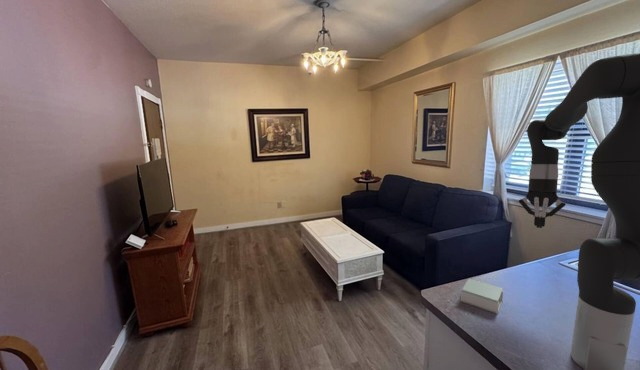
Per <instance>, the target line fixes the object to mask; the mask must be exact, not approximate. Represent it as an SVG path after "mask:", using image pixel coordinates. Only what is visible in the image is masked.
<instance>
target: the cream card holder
mask: <svg viewBox="0 0 640 370" xmlns="http://www.w3.org/2000/svg"><path fill="white" fill-rule="evenodd" d="M503 299H504V290H503V291H502V293H501V296H500V299H499V301H498V303H496V302H493V301H490V300H486V299H483V298H480V297H477V296H474V295H471V294H468V293H465V292H462V290H461V293H460V302H461V303H465V304H467V305H470V306H473V307H476V308H478V309H481V310H484V311H488V312H490V313H493V314H496V315H498V314H499V312H500V309H501V307H502V303H503Z"/></svg>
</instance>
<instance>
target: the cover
mask: <svg viewBox="0 0 640 370" xmlns="http://www.w3.org/2000/svg"><path fill="white" fill-rule="evenodd" d="M461 291H462V292H465V293H468V294H471V295H474V296H477V297H480V298H483V299H486V300H490V301H493V302H496V303H498V301H499V299H500V296H501V293H502V291H503V292H504V289H503V288H502V287H500V286H497V285H493V284H489V283H486V282H483V281H478V280H475V279H471V278H468V279H467V280H466V282H465V284H464V286H463V287H462V288H461Z"/></svg>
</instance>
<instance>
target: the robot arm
mask: <svg viewBox="0 0 640 370" xmlns="http://www.w3.org/2000/svg"><path fill="white" fill-rule="evenodd" d="M616 98H621V99H622V101H621V102H622V103H621V109H620V114H619V117H618V119H617V122H616V123H615V125H614V126H613V128H612V129H611V130H610V131H609V132H608V133H607V134H606V135H605V137H604V138H603V139H602V140H601V141H600V143H599V144H598V145H597V146H596V148H595V149H594V151H593V153H592V156H591V162H590V163H591V164H590V165H591V166H590V167H591V168H590V169H591V170H590V171H591V173H590V174H591V177H590V179H591V181H590V182H591V184H592V187H593V188H594V191H595V192H596V194H597V195H598V196H599V197H600V198H601V199H602V201H603V203H605V205H606V206H607V207H608V209H609V210H610V212H611V213H612V215H613V218H614V222H615V230H616V231H615V238H612V237H611V238H603V237H602V238H601V237H599V238H597V237H596V238H595V237H593V238H592V237H591V238H587V239H585V240H584V241H583V242H582V243H581V245H580V247H579V250H578V259H577V260H578V262H577V279H576V280H577V286H578V298H577V305H576V312H575V319H574V327H573V333H572V341H571V342H572V343H571V347H570V357H571V359H572V360H573V362H574V363H576V365H577V366H579V367H581V368H582V369H583V370H626V369H625V368H626V367H625V366H626V362H627V356H628V351H629V345H630V344H629V343H630V339H631V333H632V329H633V323H634V318H635V312H636V306H637V302H636V299H635V297H633V296H632V295H631V294H629V292H627V291H624V290H622V289H621V288H619V287H616V286H614V284H615V283H614V281H615V280H625V281H626V280H629V281H640V52H634V53H627V54H618V55H612V56H611V55H610V56H605V57H601V58H598V59H596V60H594V61H592V63H590V64H589V65H588V66H587V67H586V68H585V70H584V71H582V73H581V74H580V76H579V77H578V79H577V80H576V82H575V83H574V84H573V86H572V87H571V88H570V90H569V91H568V93H567V95H566V96H565V97H564V99H563V100H562V101H561V102H560V103H559V104H558V105H557V106H555V108H553V110H551V111H550V112H549V113H548V114H547V115H546V117H545V119H542V118H541V119H535V120H532V121H531V122H529V124H528V126H527V128H526V129H527V130H526V134H527V138H528V141H529V144H530V145H529V146H530V149H531V160H530V161H531V163H530V168H529V174H528V175H529V176H528V191H527V193H526V195H525V196H524V197H523V198H520V199H519V200H518V203H519V204H520V205H521V207H523V208H524V210H525V211H526V212H527V214H529V215H531V216H533V217H534V220H533V224H534V226H536V228H539V229H543V228H544V227H545V225H546V218H548V217H553V216H554V215H556V214H557V213H558V212H559V211H561V210H562V209H563V208H564V207H566V205H567V204H566V202H564V201H562V200H560V199H559V196H558V195H557V194H558V192H557V191H558V181H559V155H560V151H559V149H558V147H554V146H549V145H546V144H545V143H544V142H543V141H558V140H561V139H563V138H565V137H566V136H567V134H568V132H569V130H570V129H571V128H572V127H573V126H574V125H576V124H577V123H578V122H580V121H581V120H582V119H583V118H584V117H586V114H587V113H588V110H589V105H588V102H591V101H592V100H595V99H596V100H597V99H599V100H605V99H616ZM528 201H529V202H528ZM528 203H530V204H531V205H532V206H533V207H534V210H532V208H531V207H530V206H529V205H528ZM553 204H555V207H554V208H553V209H552V210H550V211H549V212H547V211H548V208H550V207H551V206H552V205H553ZM540 207H541V209H542V210H541V213H540Z"/></svg>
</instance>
